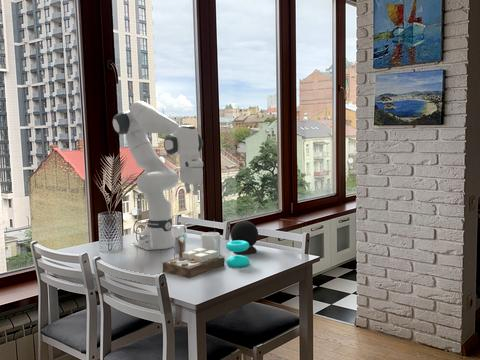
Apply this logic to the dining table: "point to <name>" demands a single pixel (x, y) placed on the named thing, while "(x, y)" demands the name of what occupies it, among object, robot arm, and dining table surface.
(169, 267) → the board
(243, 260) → the donuts
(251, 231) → the black ball on stand
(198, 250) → the button
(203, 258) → the button
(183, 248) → the beer glass
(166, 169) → the robot arm
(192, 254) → the button
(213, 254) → the button
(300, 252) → the dining table surface
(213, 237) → the mug
